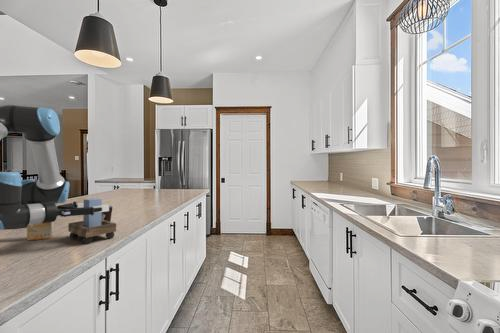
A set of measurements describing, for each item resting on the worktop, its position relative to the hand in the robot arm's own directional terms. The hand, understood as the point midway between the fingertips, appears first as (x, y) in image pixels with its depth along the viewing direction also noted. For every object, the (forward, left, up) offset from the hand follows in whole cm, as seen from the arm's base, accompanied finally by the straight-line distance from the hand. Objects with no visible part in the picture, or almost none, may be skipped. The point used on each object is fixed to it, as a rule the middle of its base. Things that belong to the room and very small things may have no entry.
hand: (100, 206), depth 113 cm
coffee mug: (-20, +10, -14) cm, 26 cm away
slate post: (0, -3, -8) cm, 9 cm away
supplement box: (-17, -16, -14) cm, 27 cm away
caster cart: (0, -3, -13) cm, 14 cm away
